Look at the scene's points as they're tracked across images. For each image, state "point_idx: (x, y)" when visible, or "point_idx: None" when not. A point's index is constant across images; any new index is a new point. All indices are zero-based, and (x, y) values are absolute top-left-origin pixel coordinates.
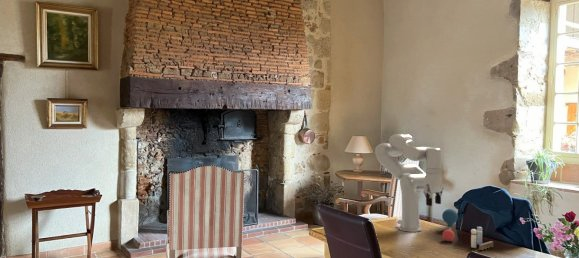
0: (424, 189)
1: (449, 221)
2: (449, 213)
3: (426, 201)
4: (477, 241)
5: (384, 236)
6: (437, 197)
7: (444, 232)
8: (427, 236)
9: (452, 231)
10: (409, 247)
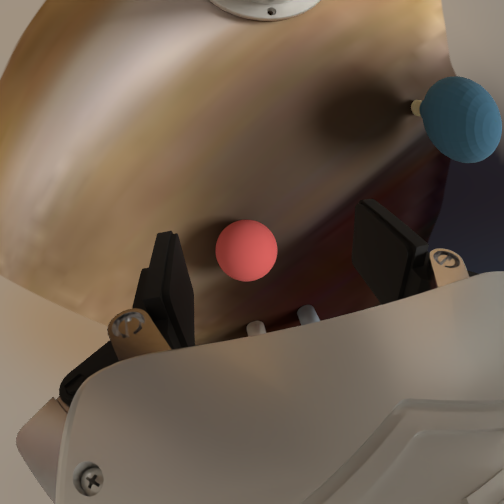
0: (36, 476)
1: (426, 130)
2: (459, 140)
3: (153, 261)
4: (300, 318)
5: (29, 38)
6: (394, 278)
7: (222, 256)
8: (221, 118)
9: (258, 277)
10: (28, 237)
